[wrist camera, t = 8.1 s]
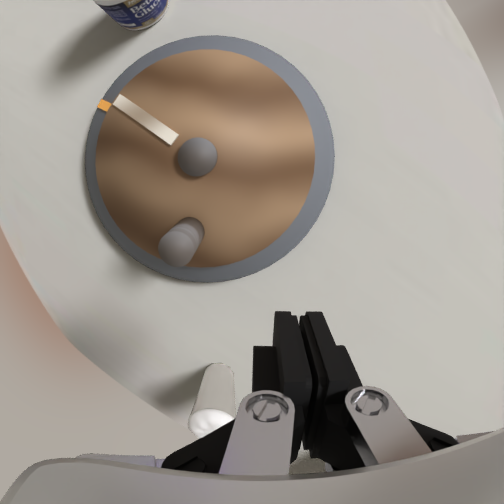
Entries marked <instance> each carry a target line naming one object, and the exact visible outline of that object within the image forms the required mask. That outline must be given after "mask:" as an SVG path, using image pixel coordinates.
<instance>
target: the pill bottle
mask: <svg viewBox="0 0 504 504" xmlns="http://www.w3.org/2000/svg"><path fill="white" fill-rule="evenodd" d="M93 1H94V2H95V3H96V4H98V5H99V6H100V7H101V8H102V9H103V10H104V11H105V12H106V13H107V14H108V15H110V16H111V17H112V18H113V19H114V20H115V21H116V22H117V23H118V24H119V25H121V26H122V27H124V28H126V29H129V30H141V29H145V28H148V27H150V26H152V25H154V24H155V23H157V22H158V21H159V20H160V19H161V18H162V17H163V16H164V14H165V13H166V11H167V9H168V6H169V0H93Z"/></svg>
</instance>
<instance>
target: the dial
mask: <svg viewBox="0 0 504 504" xmlns="http://www.w3.org/2000/svg"><path fill="white" fill-rule="evenodd" d="M95 164H96V176H97V181H98V186H99V190H100V193H101V196H102V199H103V202H104V204H105V206H106V208H107V210H108V212H109V214H110V216H111V217H112V219H113V220H114V222H115V223H116V225H117V226H118V227H119V228H120V230H121V231H122V232H123V233H124V234H125V235H126V236H127V237H128V238H129V239H130V240H131V241H132V242H134V243H135V244H136V245H137V246H138V247H140V248H141V249H143V250H144V251H146V252H147V253H149V254H151V255H153V256H155V257H157V258H159V259H162V260H163V261H164V262H165V263H166V264H168V265H170V266H172V267H182V266H187V267H200V268H203V267H217V266H223V265H229V264H232V263H235V262H238V261H242V260H244V259H246V258H248V257H251V256H253V255H255V254H257V253H258V252H260V251H262V250H263V249H265V248H266V247H268V246H269V245H270V244H272V243H273V242H274V241H275V240H277V239H278V238H279V237H280V236H281V235H282V234H283V233H284V232H285V231H286V230H287V229H288V228H289V226H290V225H291V224H292V222H293V221H294V220H295V218H296V217H297V215H298V214H299V212H300V210H301V208H302V206H303V205H304V203H305V201H306V198H307V195H308V193H309V190H310V187H311V183H312V179H313V174H314V165H315V144H314V138H313V133H312V128H311V125H310V122H309V119H308V116H307V114H306V112H305V110H304V108H303V106H302V104H301V102H300V100H299V99H298V97H297V96H296V94H295V93H294V91H293V90H292V89H291V88H290V87H289V85H288V84H287V83H286V82H285V81H284V80H283V79H282V78H281V77H280V76H278V75H277V74H276V73H275V72H274V71H272V70H271V69H270V68H268V67H266V66H265V65H263V64H262V63H260V62H258V61H256V60H254V59H251V58H249V57H247V56H244V55H241V54H237V53H234V52H230V51H223V50H215V49H201V50H193V51H186V52H182V53H178V54H174V55H171V56H169V57H166V58H164V59H161V60H159V61H157V62H155V63H154V64H152V65H150V66H148V67H147V68H145V69H144V70H143V71H141V72H140V73H139V74H137V75H136V76H135V77H134V78H133V79H131V80H130V81H129V82H128V83H127V84H126V85H125V86H124V88H123V89H122V90H121V91H120V93H119V94H118V95H117V96H116V98H115V99H114V101H113V102H112V104H111V106H110V107H109V109H108V111H107V113H106V115H105V118H104V120H103V122H102V125H101V129H100V132H99V135H98V141H97V147H96V162H95Z"/></svg>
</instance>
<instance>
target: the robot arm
mask: <svg viewBox="0 0 504 504" xmlns="http://www.w3.org/2000/svg"><path fill="white" fill-rule="evenodd" d="M301 441H302V442H303V448H304V450H309V451H310V457H311V458H319V459H321V460H323V461H325V470H326V472H322V473H310V474H294V475H289V466H290V464H291V463H292V462H293V461H295V460H296V459H297V455H298V451H299V449H300V446H301ZM0 504H504V428H501V429H499V430H496V431H492V432H485V433H477V434H469V435H459V436H456V438H455V439H454V438H453V437H452V436H450V435H448V434H446V433H443V432H440V431H438V430H435V429H432V428H430V427H427V426H425V425H422V424H420V423H417V422H415V421H412V420H410V419H408V418H407V417H406V416H405V414H404V413H403V412H402V410H401V409H400V408H399V406H398V405H397V404H396V402H395V401H394V400H393V398H392V397H391V396H390V395H389V394H388V393H387V392H385V391H384V390H382V389H379V388H376V387H371V386H362V383H361V381H360V379H359V376H358V374H357V372H356V370H355V367H354V365H353V363H352V361H351V358H350V356H349V354H348V352H347V350H346V348H345V346H343V345H338V346H336V344H335V342H334V339H333V337H332V335H331V332H330V330H329V327H328V325H327V323H326V320H325V318H324V316H323V313H322V312H306V314H305V316H300V321H299V324H298V320H297V316H295V315H291V312H286V311H275V317H274V333H273V346H254V347H253V377H252V393H251V394H248V395H247V396H246V397H245V398H243V399H242V401H241V403H240V406H239V409H238V412H237V416H236V418H235V419H233V420H232V421H230V422H228V423H227V424H225V425H223V426H221V427H220V428H218V429H216V430H214V431H213V432H211V433H209V434H207V435H206V436H204V437H202V438H200V439H198V440H196V441H195V442H193V443H191V444H189V445H187V446H185V447H183V448H181V449H179V450H177V451H176V452H174V453H172V454H170V455H169V456H168V457H166V459H155V456H130V455H107V454H93V453H90V454H82V455H80V456H77V457H76V458H58V459H50V460H44V461H41V462H38V463H35V464H33V465H32V466H30V467H28V468H27V469H26V470H25V471H24V472H23V473H22V474H21V475H20V476H19V477H18V478H17V479H16V481H15V482H14V483H13V484H12V486H11V487H10V488H9V489H8V491H7V492H6V494H5V495H4V497H3V498H2V500H1V501H0Z"/></svg>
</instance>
